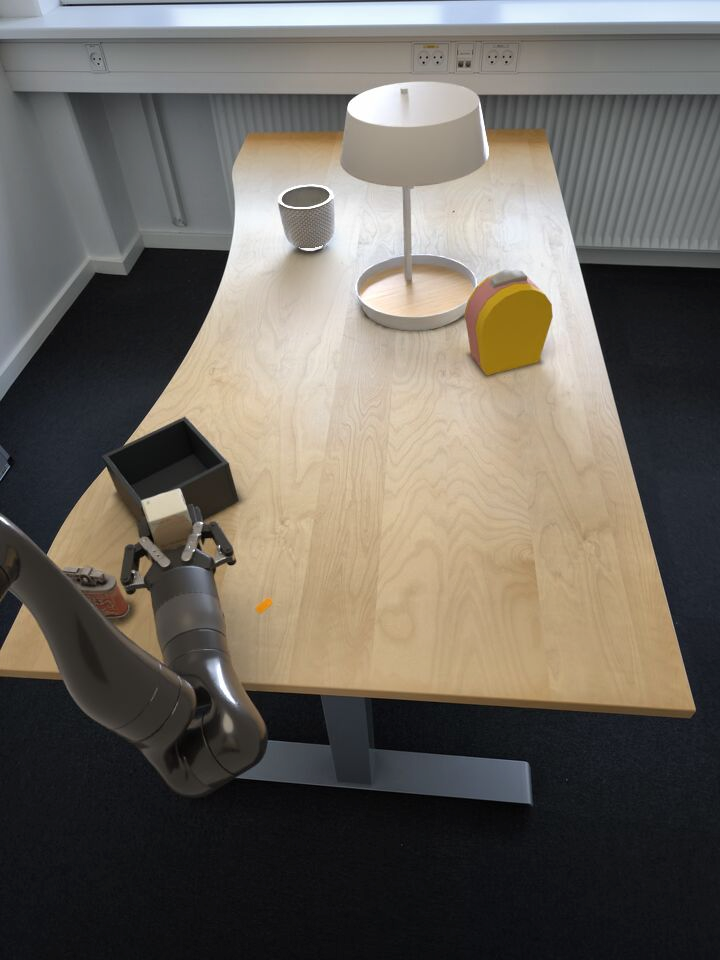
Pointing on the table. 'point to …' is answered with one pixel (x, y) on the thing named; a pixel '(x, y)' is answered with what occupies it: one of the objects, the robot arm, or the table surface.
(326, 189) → the planter
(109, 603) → the lighter
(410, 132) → the lamp
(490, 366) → the alarm clock
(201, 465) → the bin
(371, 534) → the table surface
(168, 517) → the box
